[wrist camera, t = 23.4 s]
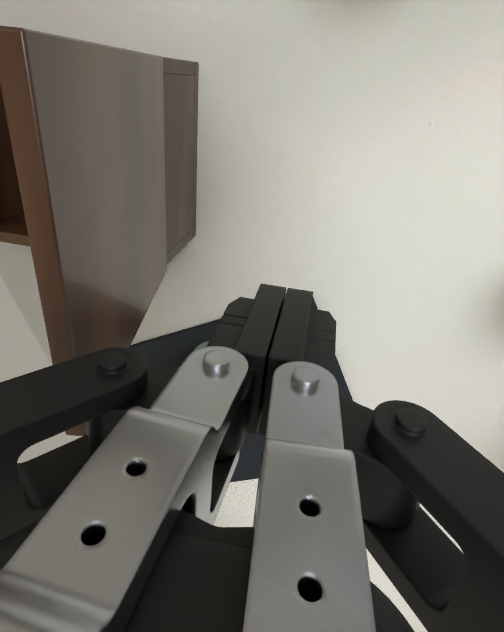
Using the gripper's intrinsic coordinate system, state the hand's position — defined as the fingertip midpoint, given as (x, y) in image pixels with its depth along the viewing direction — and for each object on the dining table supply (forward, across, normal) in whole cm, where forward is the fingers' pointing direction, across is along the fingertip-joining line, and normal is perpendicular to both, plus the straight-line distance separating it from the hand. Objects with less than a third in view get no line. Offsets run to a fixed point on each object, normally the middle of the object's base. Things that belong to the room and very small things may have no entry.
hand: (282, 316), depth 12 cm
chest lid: (+7, +9, 0) cm, 11 cm away
